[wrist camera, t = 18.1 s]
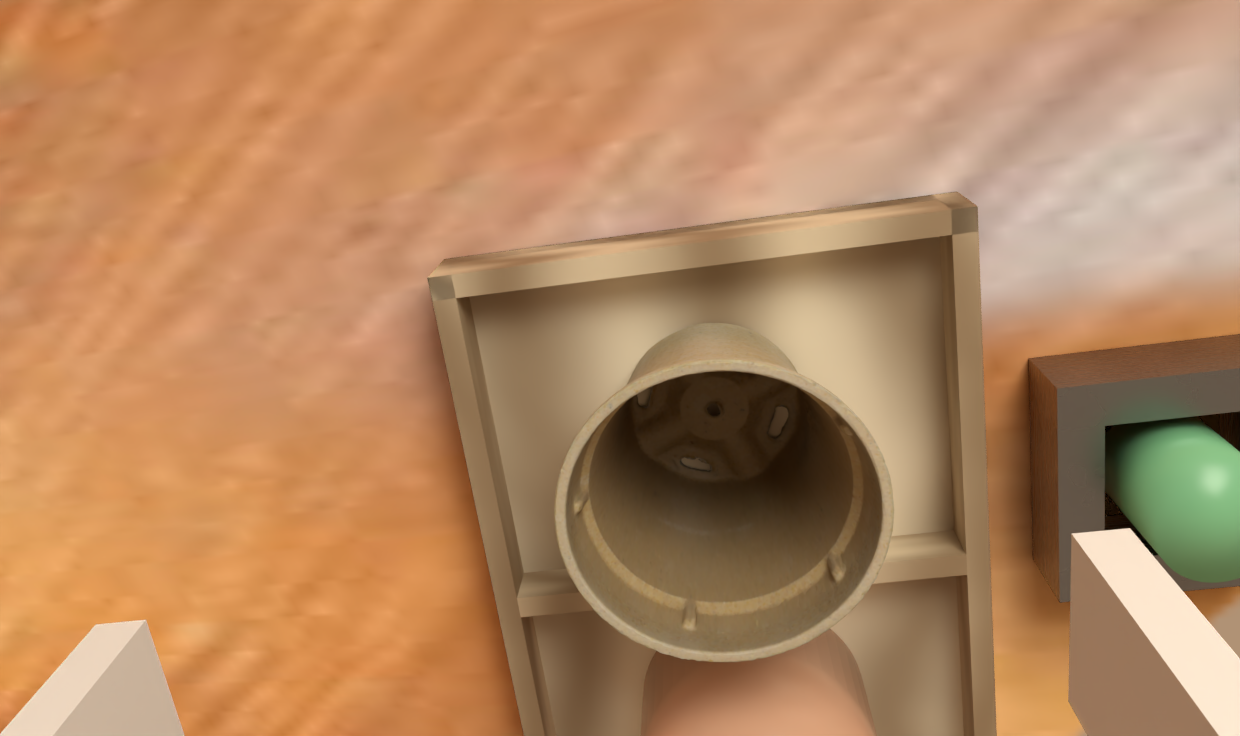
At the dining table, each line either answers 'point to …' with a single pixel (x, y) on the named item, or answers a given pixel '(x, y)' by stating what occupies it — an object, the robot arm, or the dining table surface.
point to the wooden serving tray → (802, 329)
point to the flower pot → (723, 502)
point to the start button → (1179, 493)
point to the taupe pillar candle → (759, 694)
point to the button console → (1110, 395)
